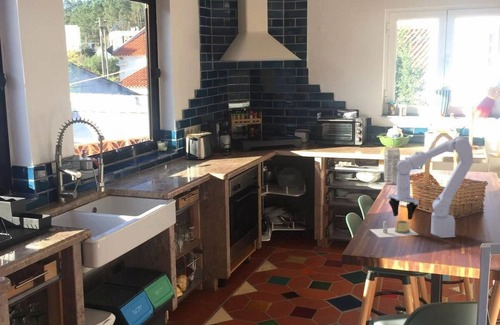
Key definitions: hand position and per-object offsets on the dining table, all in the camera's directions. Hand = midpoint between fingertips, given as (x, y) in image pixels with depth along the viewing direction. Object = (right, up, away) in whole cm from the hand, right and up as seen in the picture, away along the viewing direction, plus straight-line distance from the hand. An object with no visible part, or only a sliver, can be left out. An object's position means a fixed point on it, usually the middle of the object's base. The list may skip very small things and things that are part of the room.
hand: (402, 217), depth 247 cm
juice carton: (+22, +11, +105) cm, 108 cm away
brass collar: (0, -6, +1) cm, 6 cm away
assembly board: (-4, -8, +1) cm, 8 cm away
